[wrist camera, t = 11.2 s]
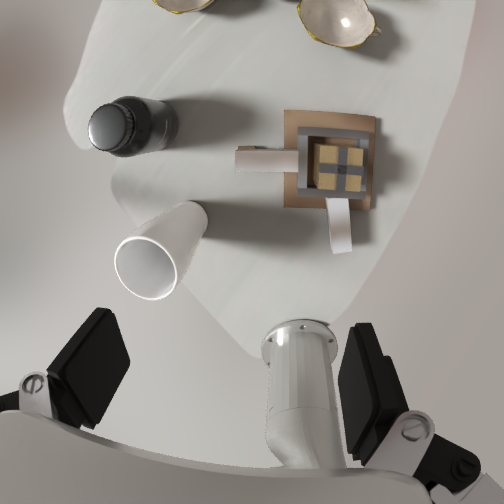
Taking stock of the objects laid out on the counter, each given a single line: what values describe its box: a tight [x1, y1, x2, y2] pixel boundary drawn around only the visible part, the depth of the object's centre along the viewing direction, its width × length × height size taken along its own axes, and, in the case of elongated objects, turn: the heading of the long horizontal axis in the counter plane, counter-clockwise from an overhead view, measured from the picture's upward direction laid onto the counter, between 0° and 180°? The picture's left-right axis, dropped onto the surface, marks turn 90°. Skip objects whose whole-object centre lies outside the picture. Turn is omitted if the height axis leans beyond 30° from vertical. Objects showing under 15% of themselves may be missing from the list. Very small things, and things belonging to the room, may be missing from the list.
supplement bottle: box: [88, 96, 178, 157], centre depth 28 cm, size 7×7×12 cm
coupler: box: [312, 142, 364, 192], centre depth 30 cm, size 4×4×7 cm
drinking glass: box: [114, 201, 208, 300], centre depth 32 cm, size 7×7×15 cm
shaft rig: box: [235, 110, 375, 254], centre depth 34 cm, size 17×16×4 cm
